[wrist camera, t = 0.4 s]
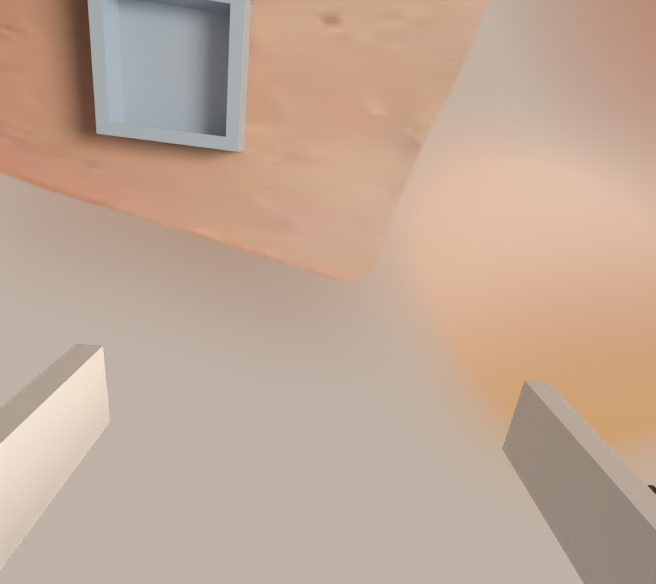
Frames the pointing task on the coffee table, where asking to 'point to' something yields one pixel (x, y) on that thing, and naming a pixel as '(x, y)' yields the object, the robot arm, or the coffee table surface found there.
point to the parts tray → (171, 70)
